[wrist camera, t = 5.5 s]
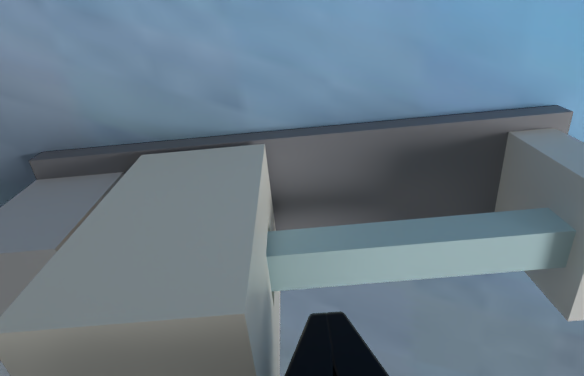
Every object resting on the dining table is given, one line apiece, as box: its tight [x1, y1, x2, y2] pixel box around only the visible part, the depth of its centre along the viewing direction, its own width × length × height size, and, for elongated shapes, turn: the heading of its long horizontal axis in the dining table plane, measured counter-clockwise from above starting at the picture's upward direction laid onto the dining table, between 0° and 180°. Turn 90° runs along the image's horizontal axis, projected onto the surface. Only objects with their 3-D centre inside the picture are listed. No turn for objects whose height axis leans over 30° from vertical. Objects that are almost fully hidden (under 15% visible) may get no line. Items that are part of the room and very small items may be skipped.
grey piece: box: [0, 105, 584, 361], centre depth 12 cm, size 5×18×5 cm, turn 95°
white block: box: [0, 144, 280, 376], centre depth 10 cm, size 5×4×7 cm
